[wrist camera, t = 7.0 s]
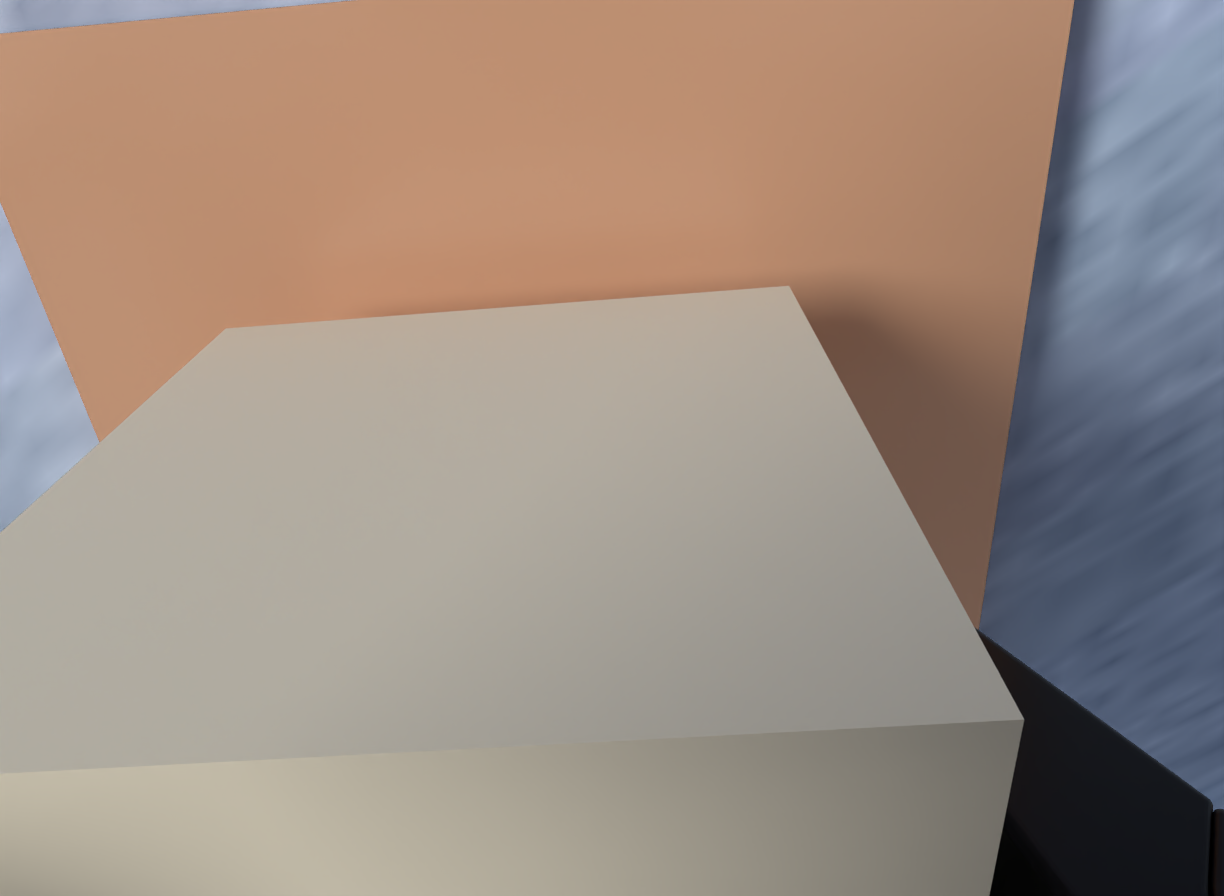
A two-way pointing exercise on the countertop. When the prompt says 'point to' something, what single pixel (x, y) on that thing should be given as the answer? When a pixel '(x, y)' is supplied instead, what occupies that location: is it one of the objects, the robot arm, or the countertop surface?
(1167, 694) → the countertop surface
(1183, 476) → the countertop surface
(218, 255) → the terracotta tile
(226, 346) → the cream letter cube
